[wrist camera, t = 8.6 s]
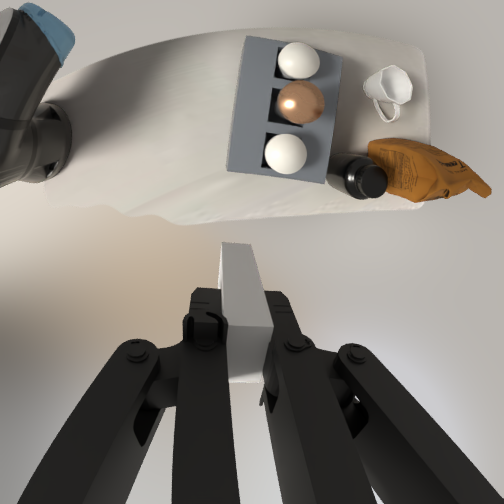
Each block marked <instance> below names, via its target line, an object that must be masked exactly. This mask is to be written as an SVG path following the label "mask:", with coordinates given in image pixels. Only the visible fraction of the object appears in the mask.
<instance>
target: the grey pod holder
mask: <svg viewBox="0 0 504 504" xmlns="http://www.w3.org/2000/svg"><path fill="white" fill-rule="evenodd" d="M288 44H290V43H287V42H282V41H277V40H272V39H266V38H260V37H253V36H246V39H245V42H244V46H243V50H242V54H241V61H240V67H239V73H238V80H237V86H236V93H235V100H234V107H233V114H232V122H231V129H230V137H229V145H228V153H227V161H226V168H227V171H229V172H239V173H248V174H257V175H265V176H273V177H281V178H288V179H295V180H301V181H308V182H314V183H320V184H325V179H326V173H327V167H328V162H329V156H330V150H331V144H332V137H333V131H334V124H335V117H336V110H337V103H338V95H339V87H340V78H341V69H342V59H343V57H340V56H337V55H334V54H331V53H327V52H324V51H320V50H317V49H314V50H315V51H316V52H317V54H318V56H319V59H320V66H319V69H318V71H317V72H316V73H315V74H313V75H312V76H310V77H309V78H306V79H303V80H304V81H308V82H310V83H312V84H314V85H315V86H317V87H318V88H319V90H320V91H321V93H322V94H323V97H324V102H325V106H324V110H323V113H322V114H321V116H320V117H319V118H318V119H317V120H315V121H313V122H311V123H305V124H296V123H292V122H290V121H288V120H284V119H281V118H279V117H278V116H277V115H276V114H275V112H274V104H275V102H276V101H277V98H278V95H279V92H280V91H281V89H282V88H283V87H285V86H286V85H287V84H289V83H291V82H293V81H297V79H294V80H293V81H290V80H284V79H279V78H276V76H275V68H276V67H277V66H278V56H279V54H280V52H281V51H282V49H283V48H284V47H285V46H286V45H288ZM279 134H291V135H294V136H296V137H298V138H299V139H301V140H302V142H303V143H304V145H305V147H306V150H307V158H306V161H305V164H304V165H303V167H302V168H301V169H300V170H298V171H297V172H295V173H292V174H282V173H279V172H277V171H275V170H274V169H272V168H271V167H270V166H269V165H268V163H267V162H266V159H265V155H264V152H263V150H264V146H265V144H266V143H267V142H268V141H269V140H270V139H271V138H273V137H274V136H276V135H279Z"/></svg>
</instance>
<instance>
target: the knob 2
mask: <svg viewBox="0 0 504 504" xmlns="http://www.w3.org/2000/svg"><path fill="white" fill-rule="evenodd" d="M263 152H264V155H265V159H266V162H267V163H268V165H269V166H270V167H271V168H272V169H274V170H275V171H277V172H279V173H282V174H292V173H295V172H297V171H298V170H300V169H301V168H302V167H303V165H304V164H305V161H306V158H307V150H306V147H305V145H304V143H303V142H302V140H301V139H299V138H298V137H296V136H294V135H291V134H279V135H276V136H274V137H273V138H271V139H270V140H269V141H268V142H267V143H266V144H265V146H264V150H263Z"/></svg>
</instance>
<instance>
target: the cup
mask: <svg viewBox="0 0 504 504" xmlns="http://www.w3.org/2000/svg"><path fill="white" fill-rule="evenodd" d="M412 89H413V85H412V83H411V81H410V79H409V77H408V75H407V73H406V72H405V71H404V70H402V69H400V68H398V67H397V66H395V65H391V66H388V67H386V68H383V69H381V70H380V71H378V72H377V73H375V74H373V75H372V76H370V77H369V78H368V79H367V80H366V81H364V85H363V90H364V92H365V94H366V96H367V97H368V98H371V99H373V103H374V105H375V108H376V110H377V112H378V114H379V115H380V117H381V118H382V120H383V121H385V122H394V121H396V120H397V119H398V118H399V116H400V107H399V105H402V104H403V103H405V102H407V101H409V100H411V96H412ZM377 100H378V101H382V102H385V103H392V104H393V105H394V109H395V116H394V117H393V119H391V120H387V119H386V117H385V116H384V114H383V113H382V111H381V109H380V107H379V105H378V102H377Z"/></svg>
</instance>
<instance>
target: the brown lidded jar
mask: <svg viewBox="0 0 504 504" xmlns="http://www.w3.org/2000/svg"><path fill="white" fill-rule="evenodd" d="M324 106H325V102H324V97H323V94H322V93H321V91H320V90H319V88H318V87H317V86H315V85H314V84H312V83H310V82H308V81H304V80H297V81H293V82H291V83H289V84H287V85H286V86H285V87H283V88H282V89H281V91H280V92H279V95H278V98H277V101H276V102H275V104H274V112H275V114H276V115H277V116H278V117H279V118H281V119H284V120H288V121H290V122H292V123H296V124H305V123H311V122H313V121H315V120H317V119H318V118H319V117H320V116H321V114H322V113H323V110H324Z"/></svg>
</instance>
